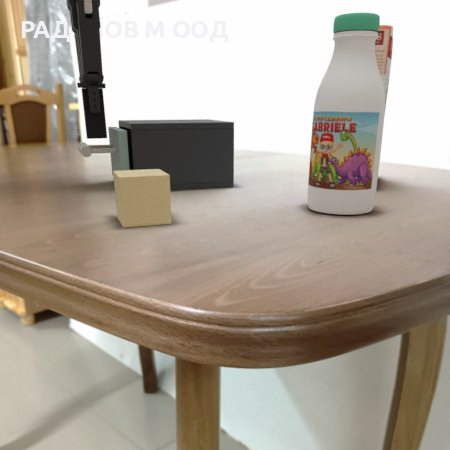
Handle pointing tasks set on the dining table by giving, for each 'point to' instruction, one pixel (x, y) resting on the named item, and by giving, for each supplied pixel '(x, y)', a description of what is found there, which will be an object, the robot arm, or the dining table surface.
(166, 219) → the block
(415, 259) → the dining table surface
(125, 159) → the drawer
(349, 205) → the milk bottle
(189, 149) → the dark grey box
